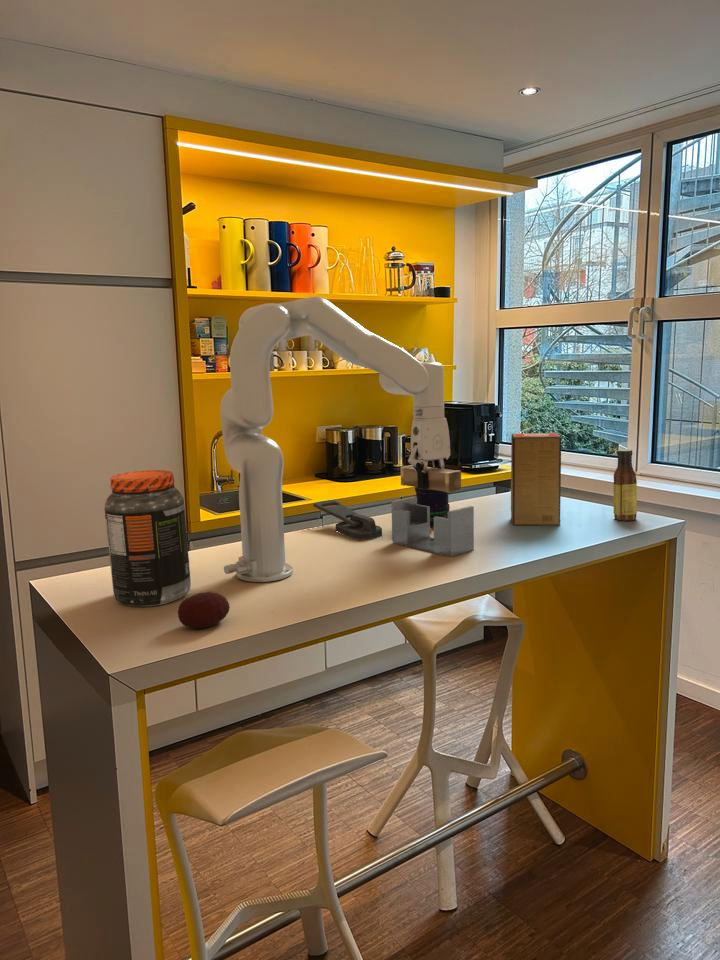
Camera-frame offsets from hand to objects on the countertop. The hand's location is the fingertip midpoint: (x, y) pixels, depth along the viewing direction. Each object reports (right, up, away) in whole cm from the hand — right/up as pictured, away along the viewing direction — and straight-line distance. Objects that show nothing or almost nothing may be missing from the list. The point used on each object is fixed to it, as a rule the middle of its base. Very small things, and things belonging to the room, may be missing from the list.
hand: (430, 485), depth 184 cm
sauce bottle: (+58, -10, +26) cm, 64 cm away
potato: (-46, -26, -47) cm, 71 cm away
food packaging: (+32, -11, +26) cm, 43 cm away
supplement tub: (-61, -23, -29) cm, 72 cm away
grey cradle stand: (+1, -15, +3) cm, 16 cm away
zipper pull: (-21, -13, +23) cm, 34 cm away
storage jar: (+3, -11, +28) cm, 30 cm away
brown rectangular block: (0, 0, 0) cm, 0 cm away
